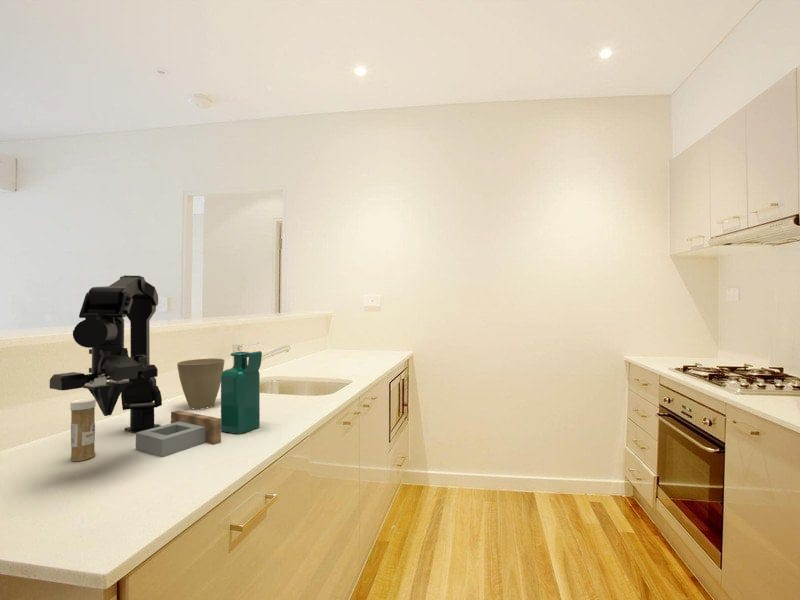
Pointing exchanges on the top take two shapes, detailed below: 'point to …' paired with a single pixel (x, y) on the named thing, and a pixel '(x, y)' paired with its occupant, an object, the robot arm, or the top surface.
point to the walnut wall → (201, 424)
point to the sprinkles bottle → (82, 429)
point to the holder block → (170, 438)
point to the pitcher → (241, 394)
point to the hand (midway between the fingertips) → (107, 415)
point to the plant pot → (200, 381)
